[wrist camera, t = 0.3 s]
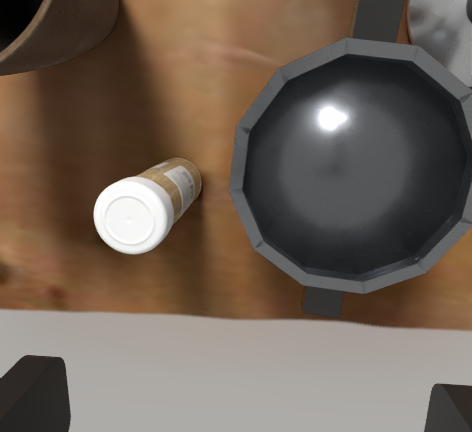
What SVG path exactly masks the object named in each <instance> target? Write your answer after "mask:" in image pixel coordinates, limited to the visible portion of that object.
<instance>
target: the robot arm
mask: <svg viewBox="0 0 472 432" xmlns="http://www.w3.org/2000/svg"><path fill="white" fill-rule="evenodd" d="M70 418H71V414H70V404H69V395H68V386H67V376H66V367H65V363H64V360H63V359H62V358H60V357H49V356H48V357H47V356H34V355H26V356H24V357H22V358H21V359H20V360H19V361H18V362H17V363H16V364H15V365H14V366H13V367H12V368H11V369H10V370H9V371H8V372H7V373H6V374H5V375H4V376H3V377H2V378H0V432H68V430H69V426H70ZM424 432H472V386H466V385H452V384H435V385H434V386H433V388H432V391H431V396H430V402H429V408H428V413H427V419H426V425H425V430H424Z"/></svg>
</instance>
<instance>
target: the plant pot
mask: <svg viewBox="0 0 472 432" xmlns="http://www.w3.org/2000/svg"><path fill="white" fill-rule="evenodd" d="M118 10H119V0H0V76H3V75H11V74H17V73H23V72H28V71H33V70H37V69H42V68H45V67H49V66H53V65H56V64H59V63H62V62H65V61H68V60H71V59H73V58H75V57H78V56H80V55H82V54H84V53H85V52H87V51H89V50H91V49H92V48H94V47H95V46H97V45H98V44H99V43H101V42H102V41H103V40H104V39H105V38H106V37H107V36H108V35H109V34H110V32H111V31H112V29H113V27H114V25H115V23H116V20H117V16H118Z"/></svg>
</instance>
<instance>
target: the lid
mask: <svg viewBox="0 0 472 432" xmlns="http://www.w3.org/2000/svg"><path fill="white" fill-rule="evenodd" d="M406 22H407V31H408V35H409V39H410V42H411V45H416V46H420V47H421V48H422V49H424V50H425V51H426V52H427V53H428V54H430V55H431V56H432V57H433V58H434V59H436V60H437V61H438V62H439V63H440V64H442V65H443V66H444V67H445V68H446V69H448V70H449V71H450V72H451V73H452V74H454V75H455V76H456V77H457V78H458V79H460V80H461V81H462V82H463V83H464V84H465V85H467V86H468V87H472V0H408V4H407V14H406Z"/></svg>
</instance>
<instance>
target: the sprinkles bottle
mask: <svg viewBox="0 0 472 432" xmlns="http://www.w3.org/2000/svg"><path fill="white" fill-rule="evenodd" d="M201 188H202V180H201V175H200V173H199V171H198V169H197V168H196V167H195V166H194V165H193V164H192V163H191V162H189V161H187V160H185V159H183V158H171V159H168V160H165V161H163V162H162V163H161V164H158V165H156V166H154V167H152V168H150V169H148V170H146V171H144V172H143V173H141V174H139V175H137V176H135V177H128V178H125V179H122V180H120V181H118V182H116V183H114V184H112V185H110V186H109V187H107V188H106V189H105V190H104V191H103V192H102V193H101V194H100V195H99V197H98V199H97V201H96V204H95V207H94V223H95V226H96V229H97V231H98V233H99V235H100V237H101V238H102V239H103V240H104V241H105V242H106V243H107V244H108V245H109V246H110V247H112V248H113V249H115V250H117V251H119V252H122V253H126V254H141V253H145V252H148V251H150V250H152V249H153V248H155V247H156V246H157V245H158V244H159V243H160V242H161V241H162V240H163V239H164V238H165V237H166V236H167V234H168V233H169V231H170V229H171V227H172V225H173V224H174V223H175V222H176V221H177V220H178V219H179V218H180V216H181V215H182V214H183V213H184V212H185V211H186V209H187V208H188V207H189V206H190V204H191V203H192V202H193V201H194V200H195V199H196V198H197V197H198V196H199V194H200V191H201Z"/></svg>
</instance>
